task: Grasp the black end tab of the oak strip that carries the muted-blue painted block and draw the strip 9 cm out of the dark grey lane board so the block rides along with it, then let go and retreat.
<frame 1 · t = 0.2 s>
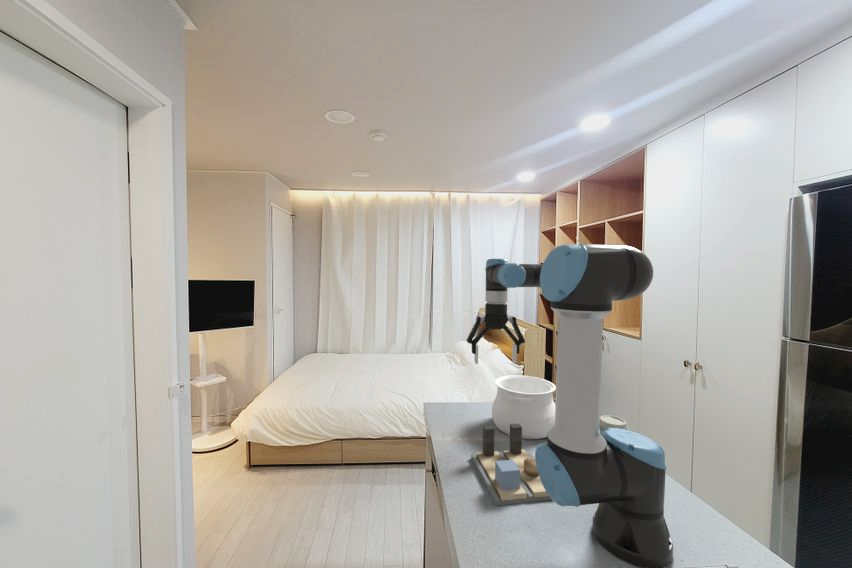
hand: (495, 363, 120), 27 cm above the countertop, fingers open, 13 cm apart
lane board: (513, 476, 98), on the countertop
strip B: (499, 458, 98), point 6 cm above the countertop, slide at 0.0 cm, touching blue block
strip A: (528, 456, 99), point 6 cm above the countertop, slide at 0.0 cm, touching oak puck
pot: (523, 427, 131), on the countertop
oak puck: (531, 472, 97), point 2 cm above the countertop, touching strip A
coffee cup: (611, 457, 110), on the countertop
blue block: (507, 483, 92), point 2 cm above the countertop, touching strip B
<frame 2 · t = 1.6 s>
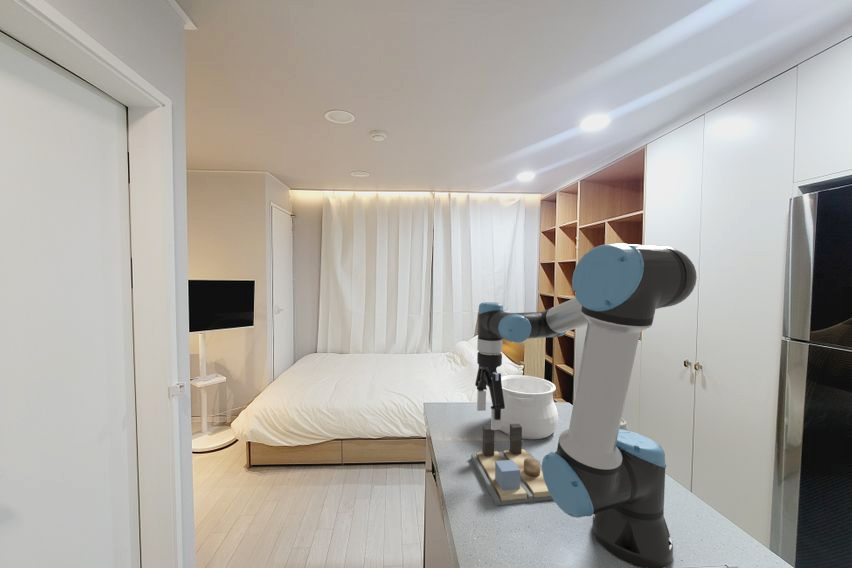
hand: (488, 419, 107), 13 cm above the countertop, fingers open, 13 cm apart
nothing on the countertop moved.
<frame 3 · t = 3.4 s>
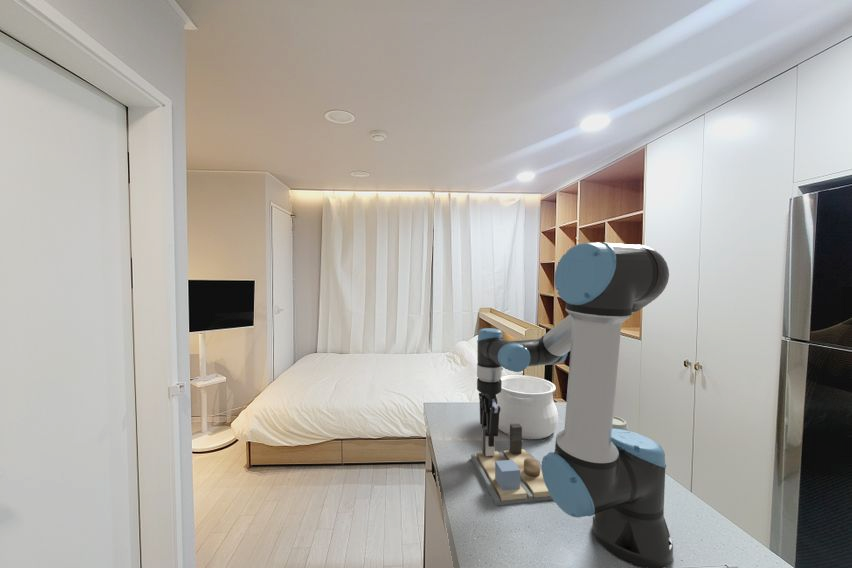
hand: (488, 452, 107), 3 cm above the countertop, fingers closed on strip B, 2 cm apart
strip B: (499, 458, 98), point 6 cm above the countertop, slide at 0.0 cm, touching blue block, gripper
everything else where it was.
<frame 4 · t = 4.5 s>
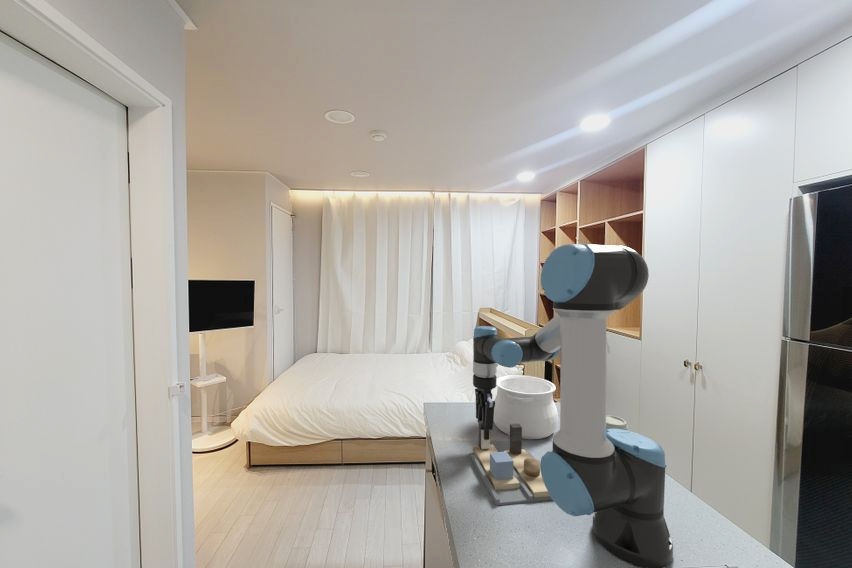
hand: (483, 445, 111), 3 cm above the countertop, fingers closed on strip B, 2 cm apart
strip B: (493, 451, 102), point 6 cm above the countertop, slide at 4.4 cm, touching blue block, gripper
blue block: (501, 474, 96), point 2 cm above the countertop, touching strip B
everything else where it was.
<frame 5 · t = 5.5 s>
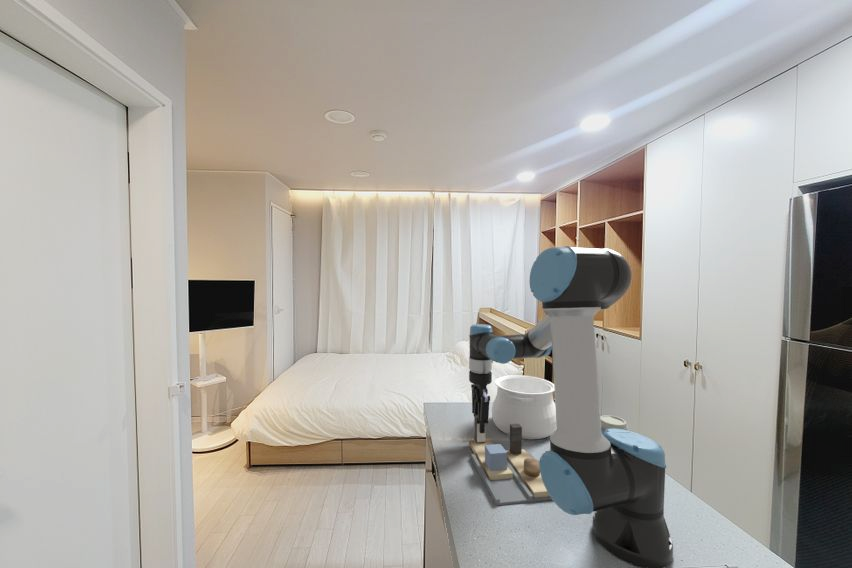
hand: (479, 439, 116), 3 cm above the countertop, fingers closed on strip B, 2 cm apart
strip B: (488, 443, 106), point 6 cm above the countertop, slide at 8.8 cm, touching blue block, gripper
blue block: (495, 465, 100), point 2 cm above the countertop, touching strip B
everything else where it was.
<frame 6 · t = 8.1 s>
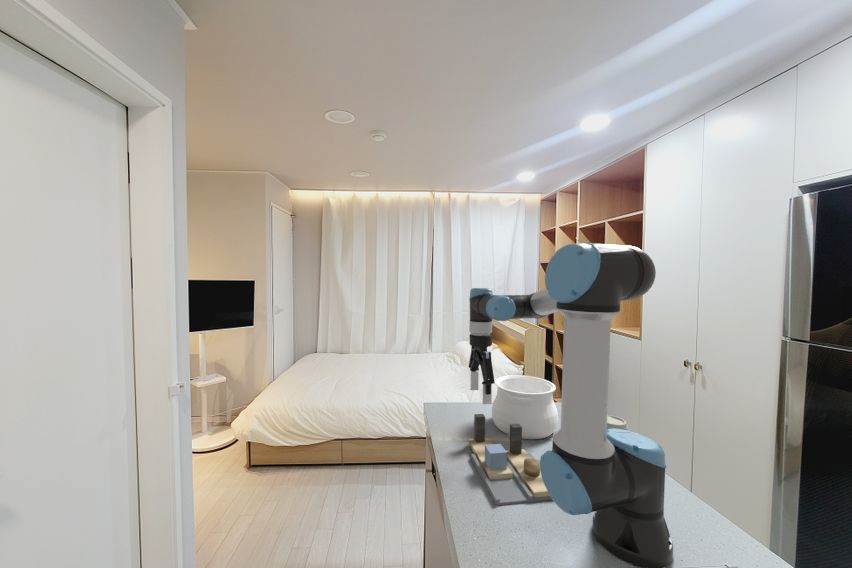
hand: (480, 396, 115), 17 cm above the countertop, fingers open, 13 cm apart
strip B: (488, 443, 106), point 6 cm above the countertop, slide at 9.0 cm, touching blue block
everything else where it was.
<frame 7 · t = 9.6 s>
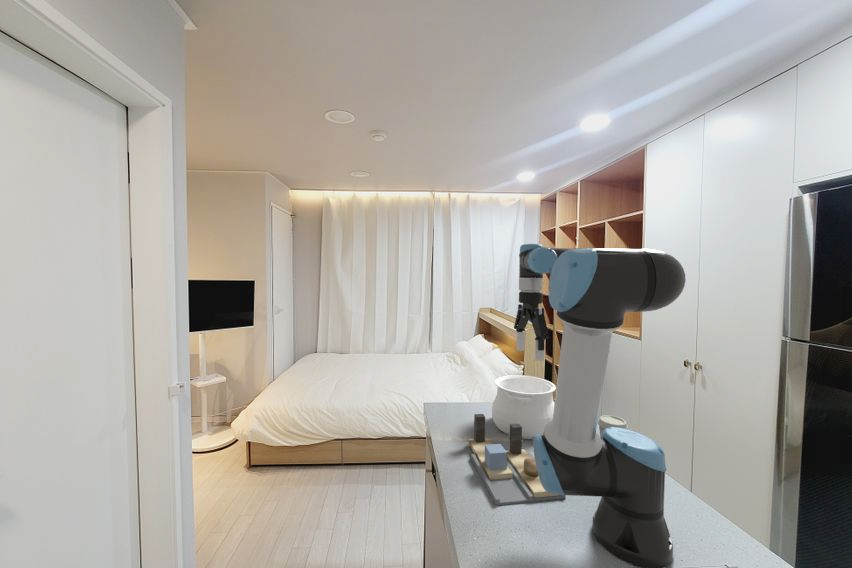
hand: (529, 355, 113), 32 cm above the countertop, fingers open, 13 cm apart
nothing on the countertop moved.
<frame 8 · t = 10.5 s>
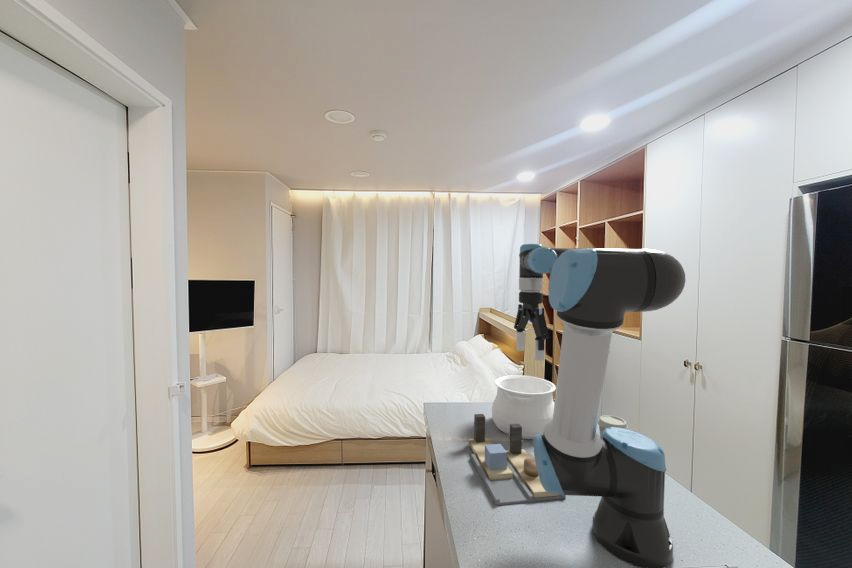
hand: (529, 355, 113), 32 cm above the countertop, fingers open, 13 cm apart
nothing on the countertop moved.
at the end: strip B slide at 9.0 cm; blue block moved 9.0 cm from its start; blue block inside the target area on the strip B (5.2 cm from its centre), point 2.0 cm above the strip B's base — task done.
